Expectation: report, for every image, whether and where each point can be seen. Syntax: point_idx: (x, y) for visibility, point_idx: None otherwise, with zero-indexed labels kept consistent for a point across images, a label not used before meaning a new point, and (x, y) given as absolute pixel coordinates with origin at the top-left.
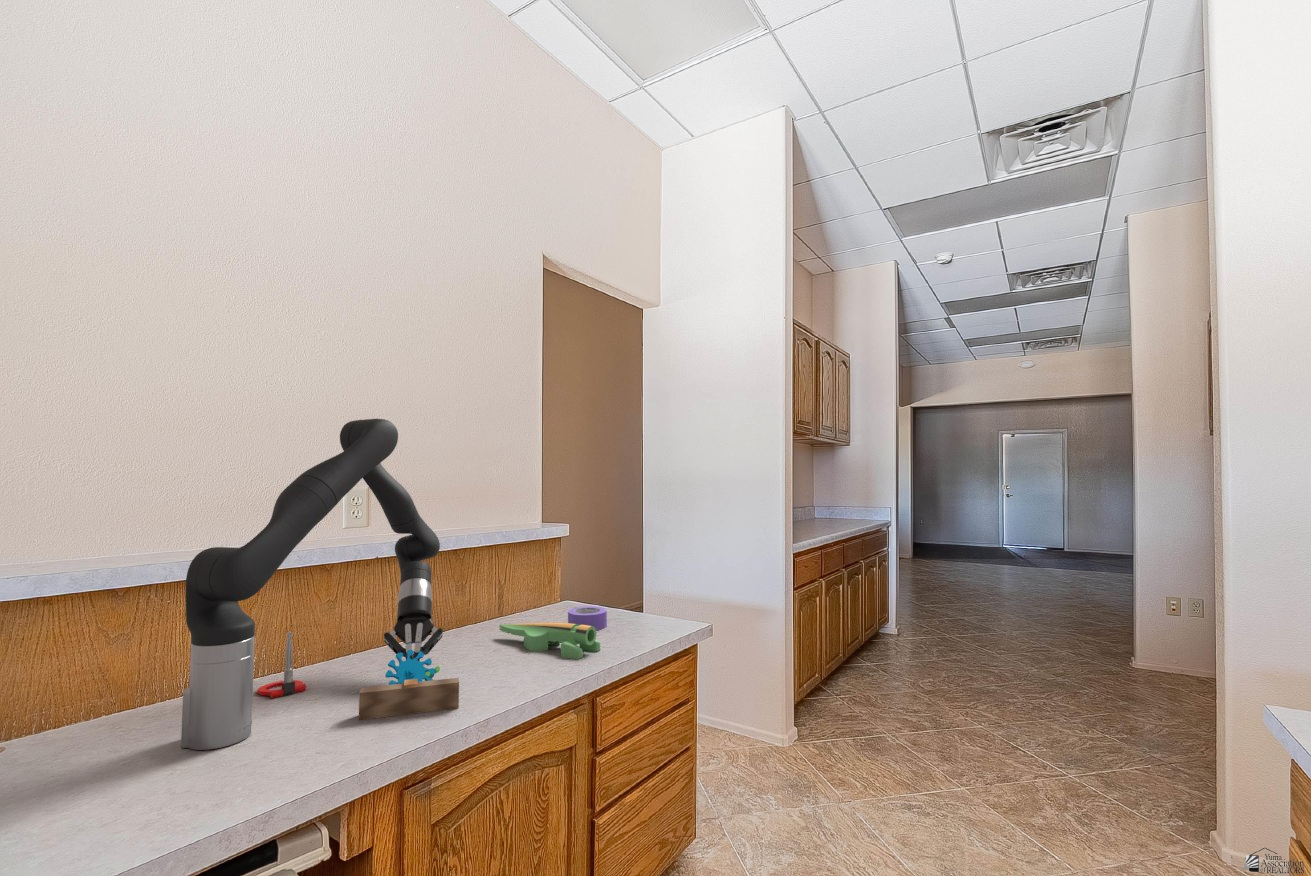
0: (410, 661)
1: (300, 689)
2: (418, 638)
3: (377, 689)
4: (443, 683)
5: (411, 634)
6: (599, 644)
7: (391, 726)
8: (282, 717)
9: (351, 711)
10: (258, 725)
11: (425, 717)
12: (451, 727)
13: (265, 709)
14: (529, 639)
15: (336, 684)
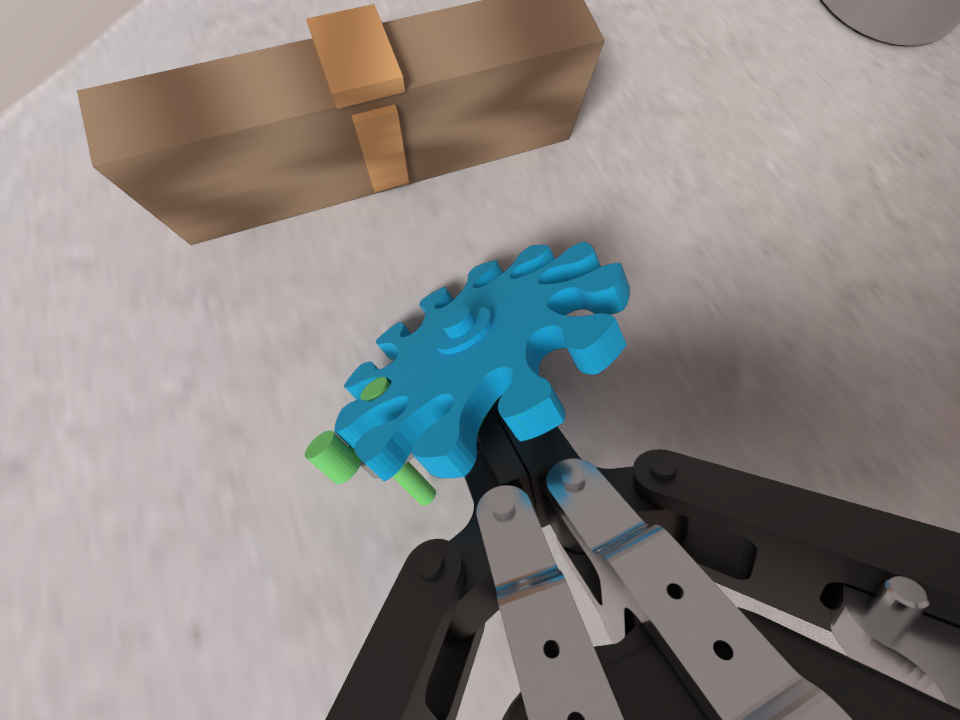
0: (493, 359)
1: None
2: (539, 615)
3: (508, 16)
4: (172, 77)
5: (683, 694)
6: None
7: None
8: (833, 124)
9: (619, 167)
10: (856, 67)
11: None
12: (169, 19)
13: (955, 195)
14: None
15: (904, 494)
